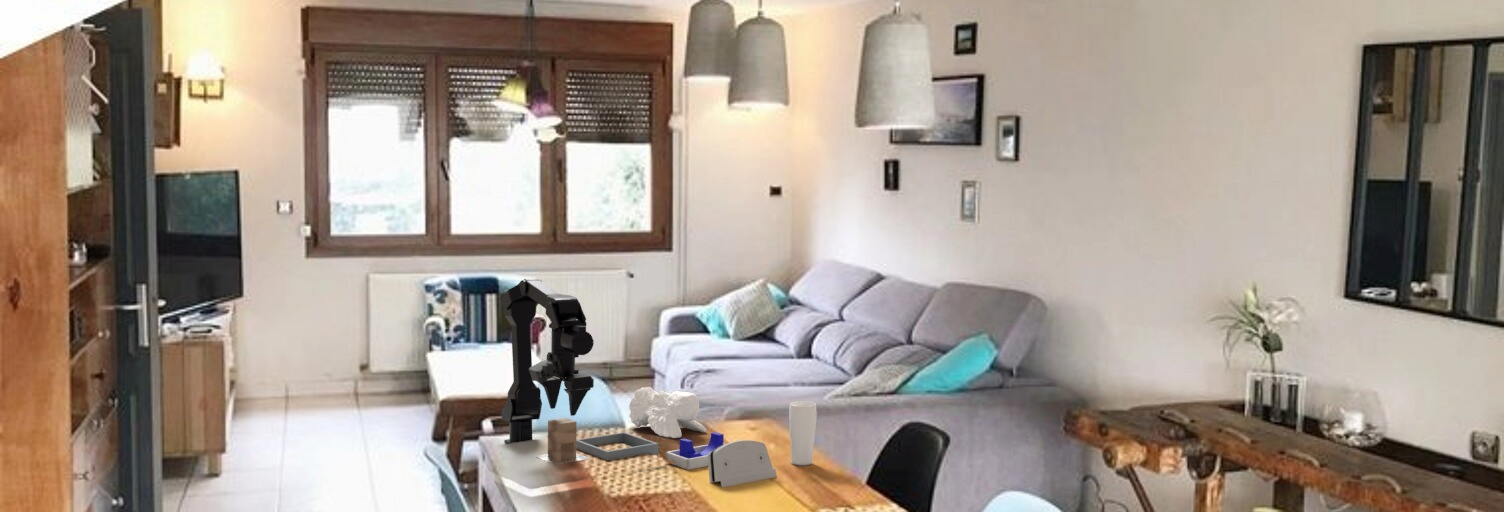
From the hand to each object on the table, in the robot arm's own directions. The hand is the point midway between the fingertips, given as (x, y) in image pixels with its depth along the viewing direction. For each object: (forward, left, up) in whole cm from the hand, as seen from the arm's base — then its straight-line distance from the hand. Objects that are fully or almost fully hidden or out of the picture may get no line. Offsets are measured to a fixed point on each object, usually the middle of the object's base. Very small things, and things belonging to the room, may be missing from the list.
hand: (562, 412), depth 313 cm
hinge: (+36, +27, -13) cm, 47 cm away
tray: (+1, +15, -13) cm, 20 cm away
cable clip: (+18, +30, -13) cm, 37 cm away
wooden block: (0, 0, -11) cm, 11 cm away
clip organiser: (+18, +30, -13) cm, 37 cm away
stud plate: (0, 0, -13) cm, 13 cm away
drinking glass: (+34, +48, -13) cm, 60 cm away
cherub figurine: (-14, +42, -13) cm, 46 cm away
